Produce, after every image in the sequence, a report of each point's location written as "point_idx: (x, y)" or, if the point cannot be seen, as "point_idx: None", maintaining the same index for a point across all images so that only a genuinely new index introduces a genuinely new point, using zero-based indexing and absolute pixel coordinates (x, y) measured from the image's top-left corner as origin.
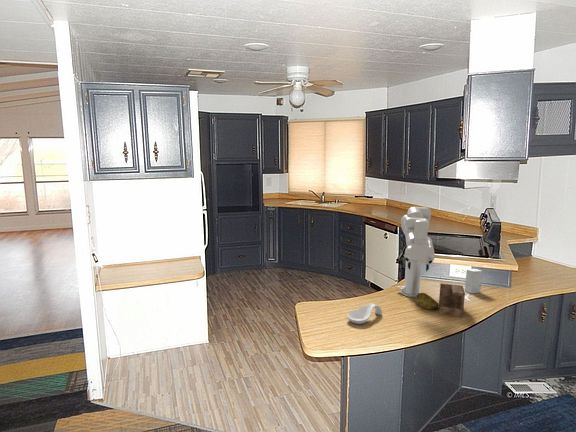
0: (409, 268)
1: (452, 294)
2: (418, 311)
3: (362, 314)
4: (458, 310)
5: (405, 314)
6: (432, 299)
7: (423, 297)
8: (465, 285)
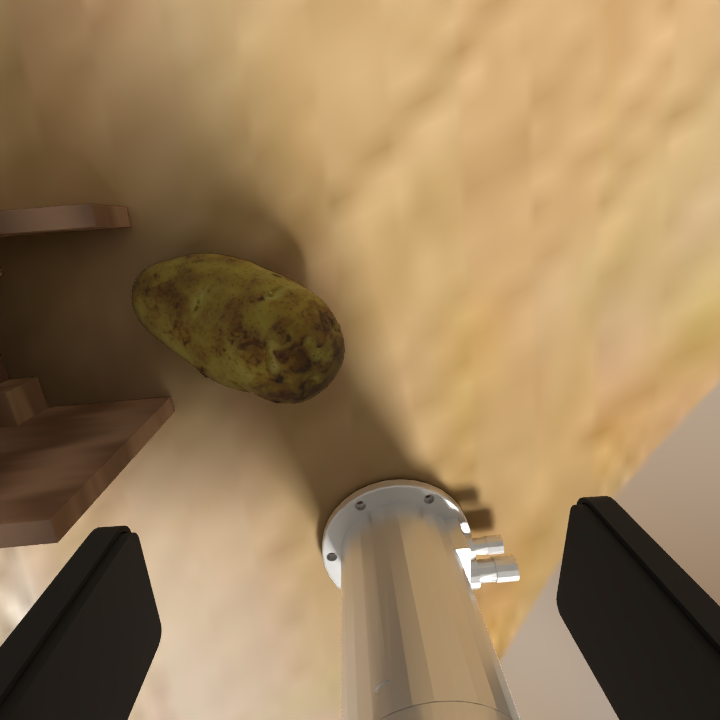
0: (603, 512)
1: None
2: (303, 183)
3: None
4: None
5: (404, 42)
6: (181, 324)
7: (265, 303)
8: None
